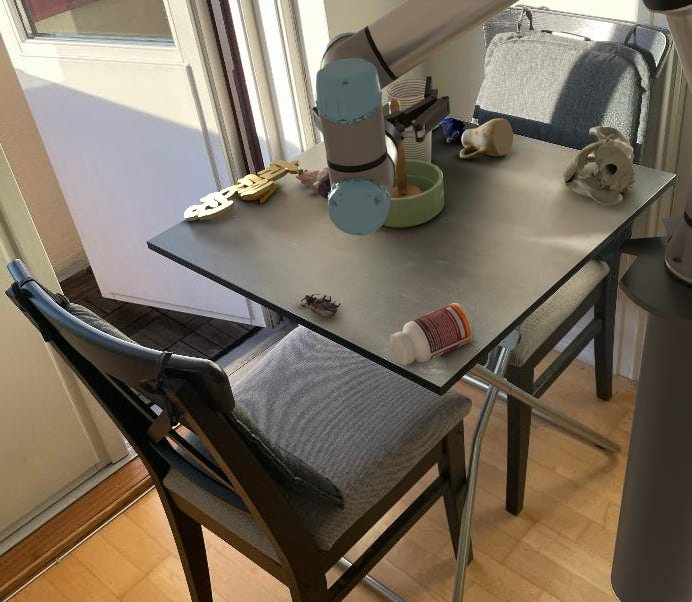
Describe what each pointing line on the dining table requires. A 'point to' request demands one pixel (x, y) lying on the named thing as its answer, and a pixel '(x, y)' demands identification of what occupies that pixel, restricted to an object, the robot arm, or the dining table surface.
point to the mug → (488, 139)
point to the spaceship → (452, 129)
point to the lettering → (242, 190)
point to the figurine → (316, 180)
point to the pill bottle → (433, 334)
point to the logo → (263, 194)
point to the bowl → (418, 196)
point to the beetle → (320, 305)
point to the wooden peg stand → (401, 167)
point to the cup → (408, 96)
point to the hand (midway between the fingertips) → (385, 88)
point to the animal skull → (603, 167)
